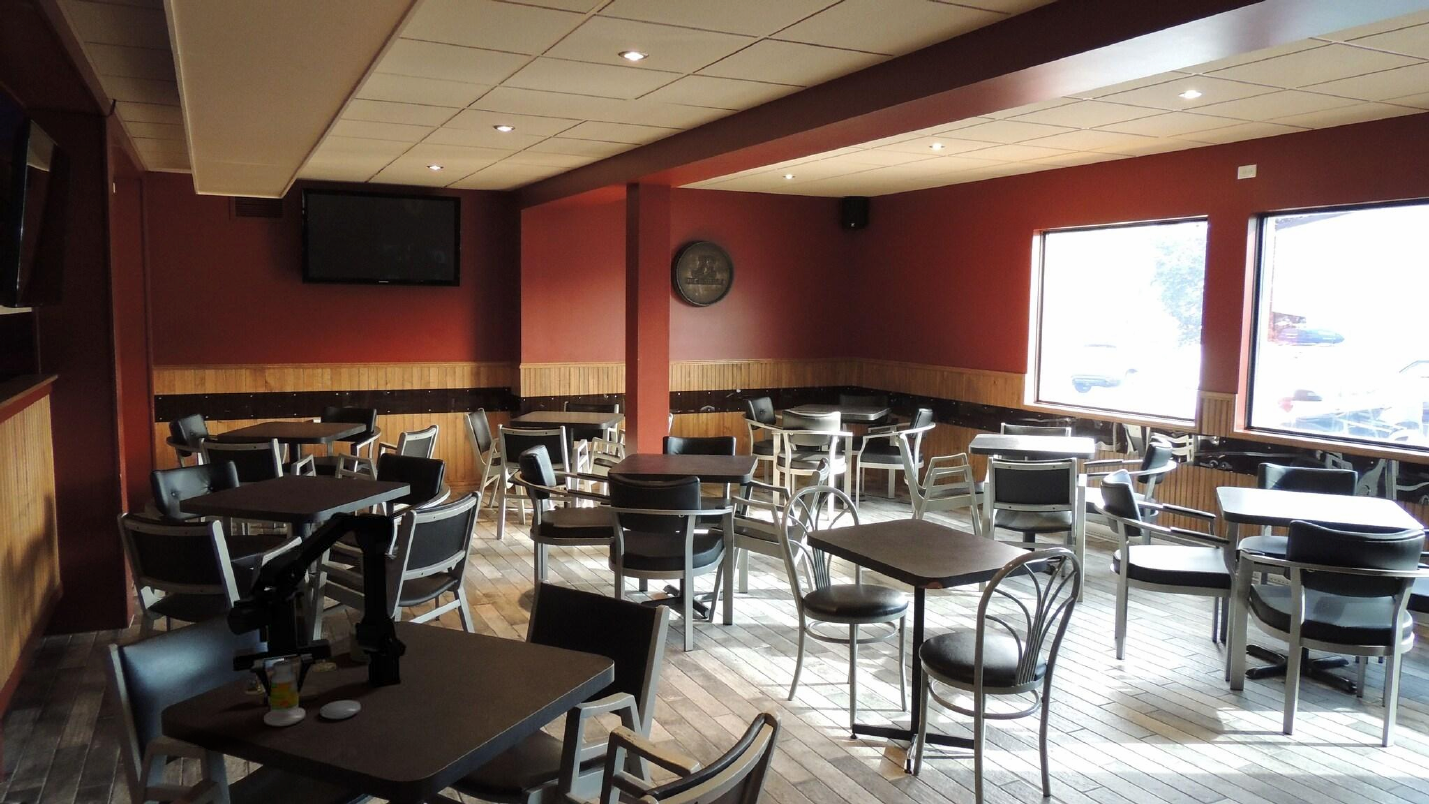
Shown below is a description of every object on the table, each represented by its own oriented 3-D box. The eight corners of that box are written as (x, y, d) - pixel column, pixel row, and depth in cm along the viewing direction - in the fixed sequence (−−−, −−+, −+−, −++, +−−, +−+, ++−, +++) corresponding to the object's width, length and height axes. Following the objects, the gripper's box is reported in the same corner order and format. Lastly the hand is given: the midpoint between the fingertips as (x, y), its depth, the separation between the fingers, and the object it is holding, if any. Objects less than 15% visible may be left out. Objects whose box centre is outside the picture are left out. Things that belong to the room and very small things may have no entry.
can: (409, 648, 258) (408, 622, 257) (383, 664, 246) (382, 637, 246) (366, 644, 261) (366, 618, 260) (339, 660, 249) (338, 633, 249)
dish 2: (358, 703, 222) (358, 698, 222) (362, 717, 215) (362, 711, 214) (319, 709, 218) (319, 704, 218) (322, 723, 211) (321, 717, 211)
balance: (336, 686, 232) (334, 648, 231) (338, 695, 227) (336, 656, 226) (246, 699, 224) (244, 660, 223) (246, 709, 219) (244, 669, 218)
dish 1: (304, 710, 218) (304, 704, 218) (306, 724, 211) (306, 718, 211) (263, 716, 215) (263, 710, 215) (264, 730, 208) (264, 724, 207)
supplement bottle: (265, 711, 211) (263, 666, 210) (281, 701, 216) (279, 657, 215) (288, 714, 209) (286, 668, 209) (303, 703, 215) (302, 659, 214)
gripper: (326, 605, 222) (328, 674, 224) (232, 616, 214) (235, 687, 216) (330, 619, 212) (332, 691, 213) (231, 632, 204) (235, 706, 206)
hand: (284, 693), depth 212 cm, fingers closed on supplement bottle, 5 cm apart
